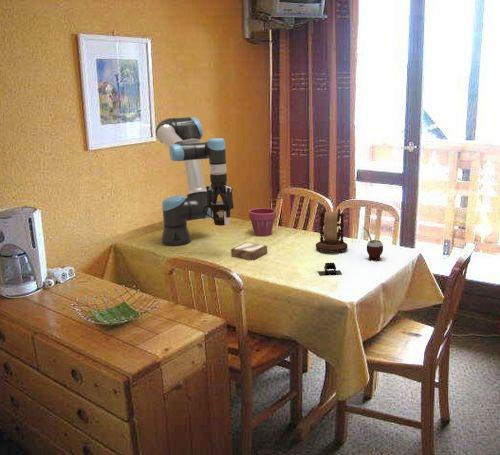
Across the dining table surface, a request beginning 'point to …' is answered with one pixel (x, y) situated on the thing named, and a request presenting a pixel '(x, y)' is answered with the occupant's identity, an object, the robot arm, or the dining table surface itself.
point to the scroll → (331, 232)
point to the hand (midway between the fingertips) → (221, 223)
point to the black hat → (329, 272)
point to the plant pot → (262, 220)
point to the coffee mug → (217, 212)
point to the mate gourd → (374, 248)
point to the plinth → (249, 251)
